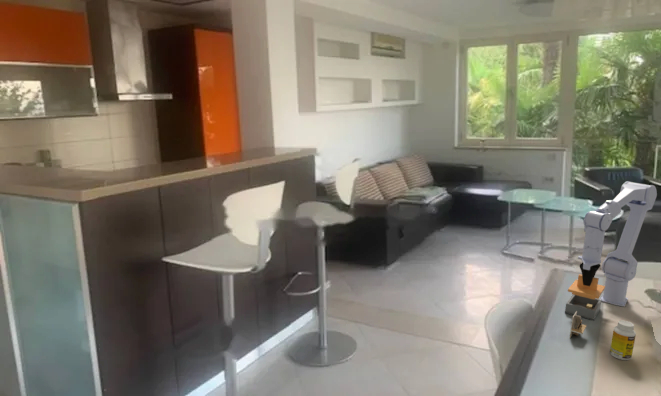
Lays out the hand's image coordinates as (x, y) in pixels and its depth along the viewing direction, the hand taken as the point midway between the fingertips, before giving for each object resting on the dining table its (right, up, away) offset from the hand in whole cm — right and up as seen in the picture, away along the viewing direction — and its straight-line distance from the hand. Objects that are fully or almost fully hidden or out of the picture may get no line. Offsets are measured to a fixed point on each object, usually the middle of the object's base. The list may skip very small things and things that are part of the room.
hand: (587, 284), depth 172 cm
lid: (0, -3, +1) cm, 3 cm away
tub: (-1, -10, +2) cm, 10 cm away
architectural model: (-12, -14, -16) cm, 25 cm away
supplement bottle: (-5, -16, -28) cm, 32 cm away
